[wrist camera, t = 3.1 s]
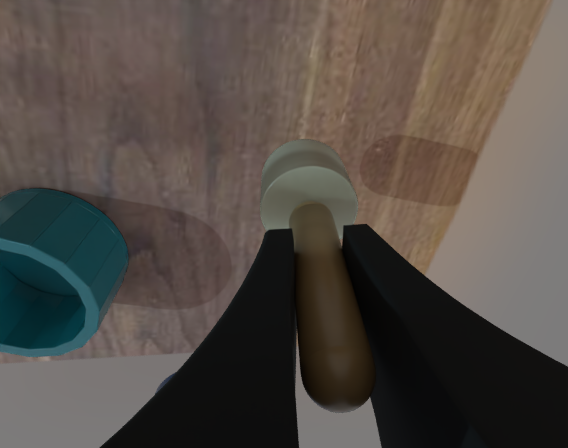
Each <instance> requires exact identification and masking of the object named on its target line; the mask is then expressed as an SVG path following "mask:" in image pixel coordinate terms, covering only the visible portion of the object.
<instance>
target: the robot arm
mask: <svg viewBox="0 0 568 448" xmlns="http://www.w3.org/2000/svg"><path fill="white" fill-rule="evenodd" d="M342 250H343V254H344V257H345V261H346V264H347V268H348V271H349V275H350V278H351V281H352V285H353V288H354V292H355V295H356V299H357V302H358V306H359V309H360V313H361V316H362V320H363V323H364V327H365V330H366V334H367V337H368V341H369V344H370V348H371V351H372V355H373V358H374V362H375V367H376V383H375V386H374V389H373V392H372V394H371V396H370V398H371V402H372V405H373V409H374V413H375V417H376V422H377V427H378V431H379V436H380V441H381V446H382V448H568V367H567V366H565V365H564V364H562V363H560V362H558V361H556V360H554V359H552V358H550V357H548V356H547V355H545V354H543V353H541V352H540V351H538V350H536V349H534V348H532V347H531V346H529V345H527V344H525V343H523V342H522V341H520V340H518V339H516V338H515V337H513V336H511V335H510V334H508V333H506V332H504V331H503V330H501V329H500V328H498V327H496V326H495V325H493V324H492V323H490V322H489V321H487V320H486V319H484V318H482V317H481V316H479V315H478V314H476V313H475V312H473V311H472V310H470V309H469V308H467V307H466V306H464V305H463V304H461V303H460V302H459V301H457V300H456V299H454V298H453V297H452V296H450V295H449V294H448V293H446V292H445V291H444V290H442V289H441V288H440V287H438V286H437V285H436V284H434V283H433V282H432V281H431V280H429V279H428V278H427V277H426V276H424V275H423V274H422V273H421V272H419V271H418V270H417V269H416V268H415V267H413V266H412V265H411V264H410V263H409V262H408V261H406V260H405V259H404V258H403V257H402V256H401V255H400V254H399V253H397V252H396V251H395V250H394V249H393V248H392V247H391V246H390V245H389V244H388V243H387V242H386V241H384V240H383V239H382V238H381V237H380V236H379V235H378V234H377V233H376V232H375V231H374V230H373V229H372V228H371V227H369V226H368V225H367V224H358V225H343V242H342ZM296 336H297V321H296V309H295V258H294V239H293V232H292V228H287V229H270V230H268V231H267V232H266V233H265V235H264V239H263V242H262V244H261V247H260V249H259V252H258V254H257V256H256V259H255V261H254V263H253V265H252V267H251V268H250V270H249V272H248V274H247V276H246V278H245V280H244V282H243V284H242V285H241V287H240V288H239V290H238V292H237V293H236V295H235V297H234V298H233V300H232V301H231V303H230V305H229V306H228V308H227V309H226V311H225V312H224V314H223V315H222V317H221V318H220V319H219V321H218V322H217V324H216V325H215V326H214V328H213V329H212V330H211V332H210V333H209V334H208V336H207V337H206V338H205V339H204V341H203V342H202V343H201V344H200V346H199V347H198V348H197V349H196V350H195V351H194V353H193V354H192V355H191V357H189V359H188V360H187V361H186V362H185V363H184V365H183V366H182V367H181V368H180V369H179V370H178V371H177V372H176V374H175V375H174V376H173V377H172V378H171V379H170V380H169V381H168V382H167V383H166V384H165V385H164V386H163V387H162V388H161V389H160V390H159V391H158V392H157V393H156V394H155V395H154V396H153V397H152V398H151V399H150V400H149V401H148V402H147V404H145V405H144V406H143V407H142V408H141V410H139V412H137V414H136V415H135V416H134V417H133V418H132V419H130V421H128V422H127V423H126V424H125V425H124V426H123V427H122V428H121V429H120V430H119V431H118V432H117V433H116V434H114V435H113V436H112V437H111V438H110V439H109V440H108V441H107V442H105V443H104V444H103V445H102V446H101V447H100V448H299V441H298V429H297V428H298V427H297V413H296V398H295V378H296V377H295V374H296Z"/></svg>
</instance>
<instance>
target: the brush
mask: <svg viewBox="0 0 568 448" xmlns="http://www.w3.org/2000/svg"><path fill="white" fill-rule="evenodd" d="M357 211H358V200H357V195H356V192H355V190H354V188H353V185H352V183H351V181H350V178H349V176H348V174H347V171H346V169H345V167H344V164H343V162H342V160H341V158H340V157H339V155H338V154H337V153H336V152H335V151H334V150H333V149H332V148H331V147H330V146H328V145H326V144H325V143H322V142H320V141H316V140H311V139H299V140H294V141H290V142H288V143H285V144H284V145H282V146H280V147H279V148H277V149H276V150H275V151H274V152H273V153H272V154H271V155H270V156H269V158H268V159H267V161H266V163H265V165H264V168H263V171H262V180H261V201H260V215H261V220H262V223H263V225H264V227H265V229H266V231H268V230H270V229H287V228H292V232H293V239H294V258H295V309H296V321H297V333H298V346H299V357H300V370H301V377H302V382H303V385H304V388H305V390H306V392H307V394H308V395H309V396H310V398H311V399H312V400H313V401H314V402H315V403H316V404H317V405H319V406H320V407H321V408H324V409H326V410H328V411H331V412H335V413H344V412H350V411H353V410H356V409H357V408H359V407H360V406H362V405H363V404H364V403H365V402H366V401H367V400H368V399H369V397H370V396H371V394H372V392H373V389H374V386H375V383H376V367H375V362H374V358H373V355H372V351H371V348H370V344H369V341H368V337H367V334H366V330H365V327H364V323H363V320H362V316H361V313H360V309H359V306H358V302H357V299H356V295H355V292H354V288H353V285H352V281H351V278H350V275H349V271H348V268H347V264H346V261H345V257H344V254H343V250H342V246H341V242H340V239H341V238H343V225H353V224H354V221H355V219H356V216H357Z"/></svg>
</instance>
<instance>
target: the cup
mask: <svg viewBox="0 0 568 448" xmlns="http://www.w3.org/2000/svg"><path fill="white" fill-rule="evenodd" d="M128 260H129V258H128V250H127V246H126V243H125V241H124V238H123V236H122V235H121V233H120V231H119V230H118V228H117V227H116V226H115V225H114V223H113V222H112V221H111V220H110V219H109V218H108V217H107V216H106V215H105V214H103V213H102V212H101V211H100V210H98V209H97V208H95V207H94V206H93V205H91V204H89V203H87V202H86V201H84V200H82V199H80V198H77V197H75V196H73V195H70V194H67V193H64V192H60V191H56V190H51V189H42V188H30V189H22V190H18V191H14V192H11V193H8V194H6V195H4V196H2V197H1V198H0V352H5V353H10V354H16V355H22V356H27V357H43V356H59V355H63V354H65V353H68V352H71V351H73V350H76V349H78V348H81V347H83V346H84V345H85V344H86V343H87V342H88V341H89V340H90V339H91V337H92V336H93V335H94V334H95V333H96V332H97V330H98V329H99V327H100V325H101V323H102V321H103V319H104V317H105V315H106V313H107V311H108V309H109V307H110V305H111V303H112V301H113V299H114V297H115V295H116V293H117V292H118V290H119V288H120V286H121V284H122V282H123V280H124V275H125V273H126V271H127V267H128Z"/></svg>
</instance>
